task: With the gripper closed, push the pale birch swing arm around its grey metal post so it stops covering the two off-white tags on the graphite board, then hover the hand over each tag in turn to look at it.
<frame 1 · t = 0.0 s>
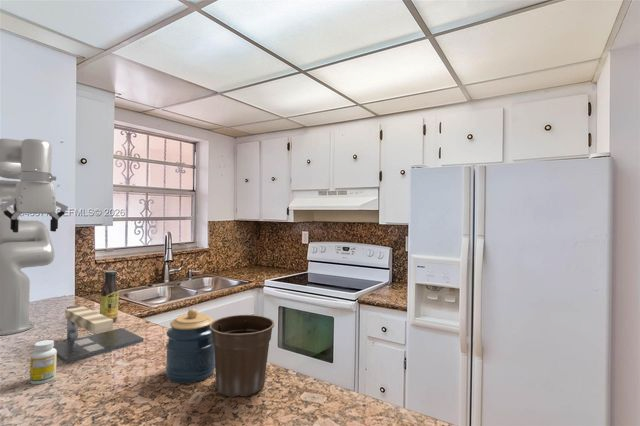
hand: (34, 231, 111), 37 cm above the countertop, tool pointing down, fingers open, 9 cm apart
sauce bottle: (108, 321, 136), on the countertop
plant pot: (241, 386, 89), on the countertop
swing arm: (86, 318, 111), point 10 cm above the countertop, hinge at 0.0°
label board: (97, 345, 112), on the countertop
canister: (191, 373, 95), on the countertop
supplement bottle: (43, 380, 90), on the countertop
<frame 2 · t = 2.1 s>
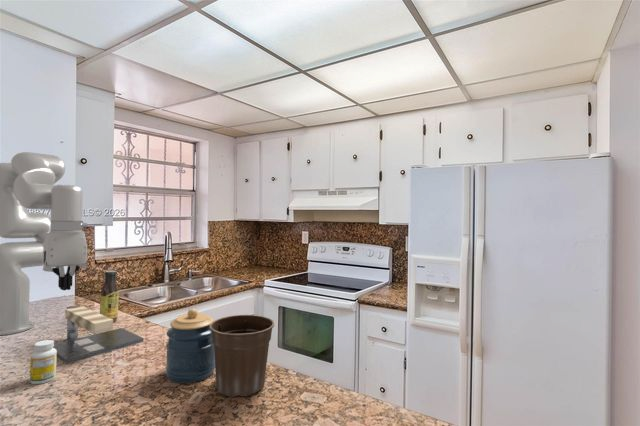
hand: (65, 289, 101), 21 cm above the countertop, tool pointing down, fingers closed
nothing on the countertop moved.
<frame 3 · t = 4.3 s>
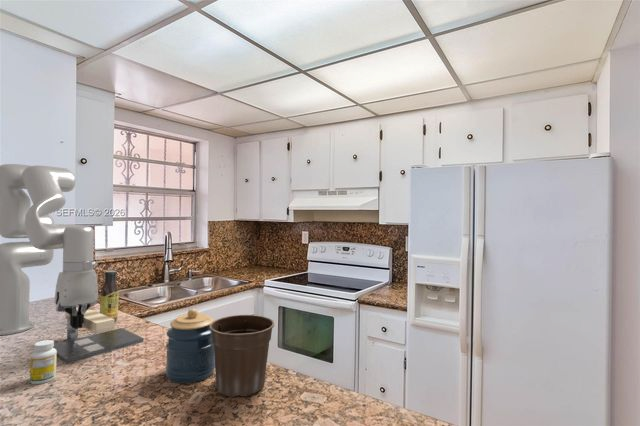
hand: (76, 327, 104), 9 cm above the countertop, tool pointing down, fingers closed
swing arm: (87, 317, 111), point 10 cm above the countertop, hinge at 1.1°, touching gripper
everything else where it was.
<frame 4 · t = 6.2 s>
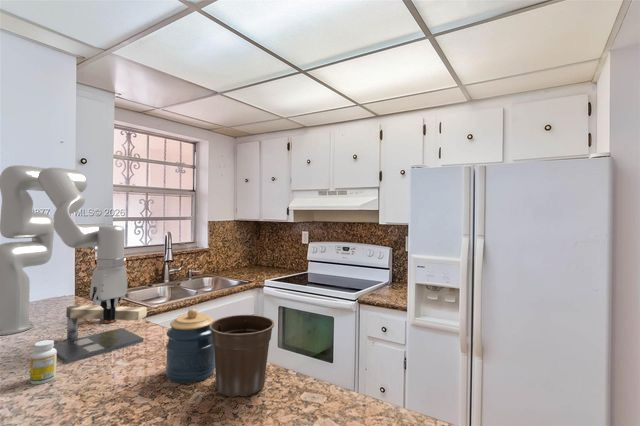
hand: (109, 319, 112), 9 cm above the countertop, tool pointing down, fingers closed
swing arm: (105, 312, 117), point 10 cm above the countertop, hinge at 34.6°, touching gripper
everything else where it was.
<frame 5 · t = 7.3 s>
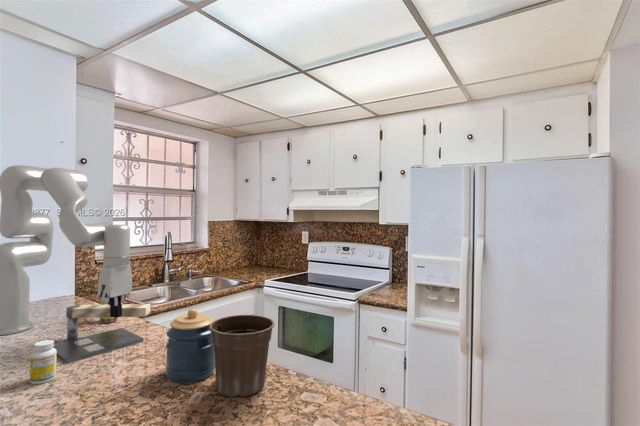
hand: (115, 316, 115), 9 cm above the countertop, tool pointing down, fingers closed
swing arm: (108, 310, 119), point 10 cm above the countertop, hinge at 44.7°, touching gripper
everything else where it was.
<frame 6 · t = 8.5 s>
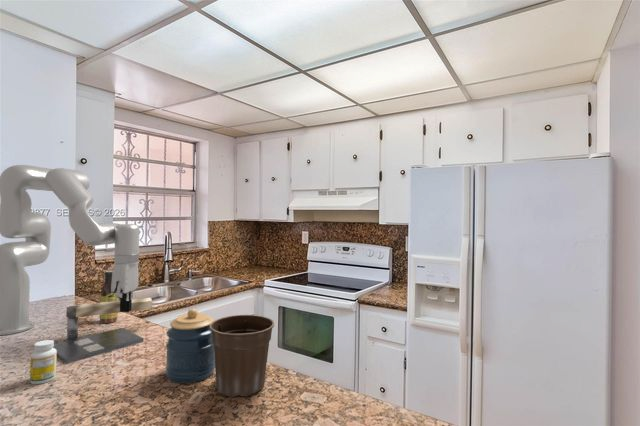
hand: (125, 311, 121), 9 cm above the countertop, tool pointing down, fingers closed
swing arm: (111, 307, 123), point 10 cm above the countertop, hinge at 67.8°, touching gripper
everything else where it was.
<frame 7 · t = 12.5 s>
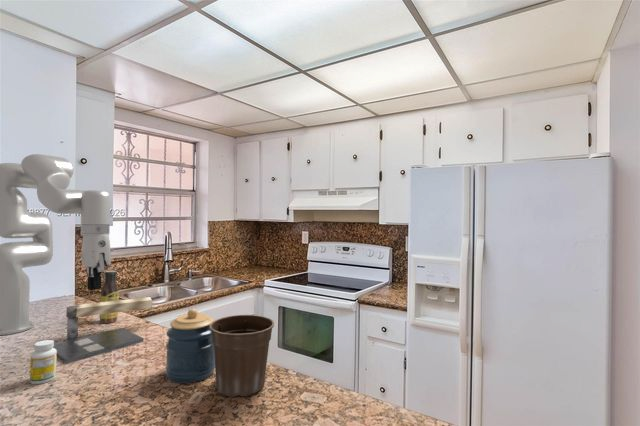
hand: (94, 289, 107), 20 cm above the countertop, tool pointing down, fingers closed
swing arm: (111, 307, 123), point 9 cm above the countertop, hinge at 70.8°
everything else where it was.
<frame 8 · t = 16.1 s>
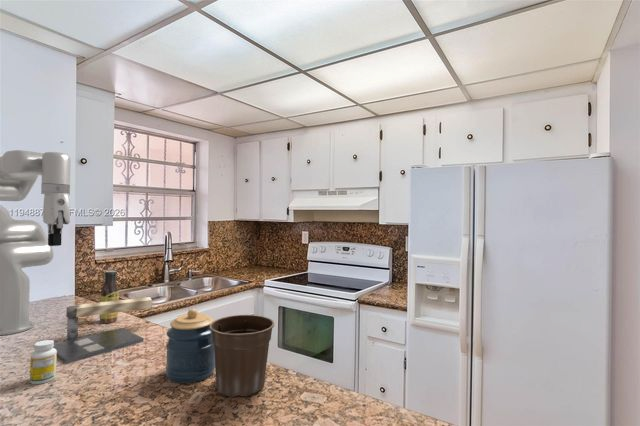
hand: (54, 245, 114), 32 cm above the countertop, tool pointing down, fingers closed
nothing on the countertop moved.
at the end: swing arm at +71° (first picture: +0°); sauce bottle moved 0.2 cm from its start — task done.
